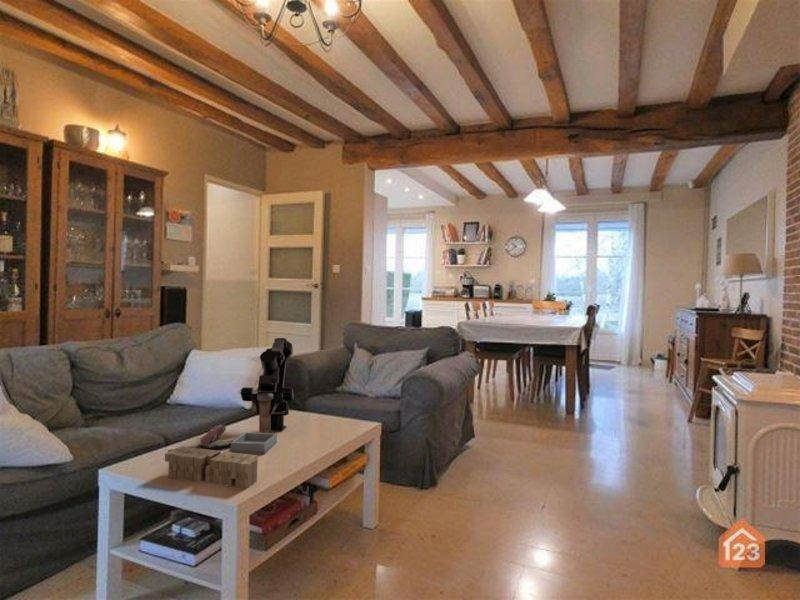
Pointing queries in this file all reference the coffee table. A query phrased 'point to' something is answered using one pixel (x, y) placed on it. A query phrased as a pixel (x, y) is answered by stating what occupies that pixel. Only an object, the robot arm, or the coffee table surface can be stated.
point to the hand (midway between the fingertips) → (264, 414)
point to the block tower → (212, 466)
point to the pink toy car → (213, 434)
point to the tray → (254, 443)
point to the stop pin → (264, 412)
